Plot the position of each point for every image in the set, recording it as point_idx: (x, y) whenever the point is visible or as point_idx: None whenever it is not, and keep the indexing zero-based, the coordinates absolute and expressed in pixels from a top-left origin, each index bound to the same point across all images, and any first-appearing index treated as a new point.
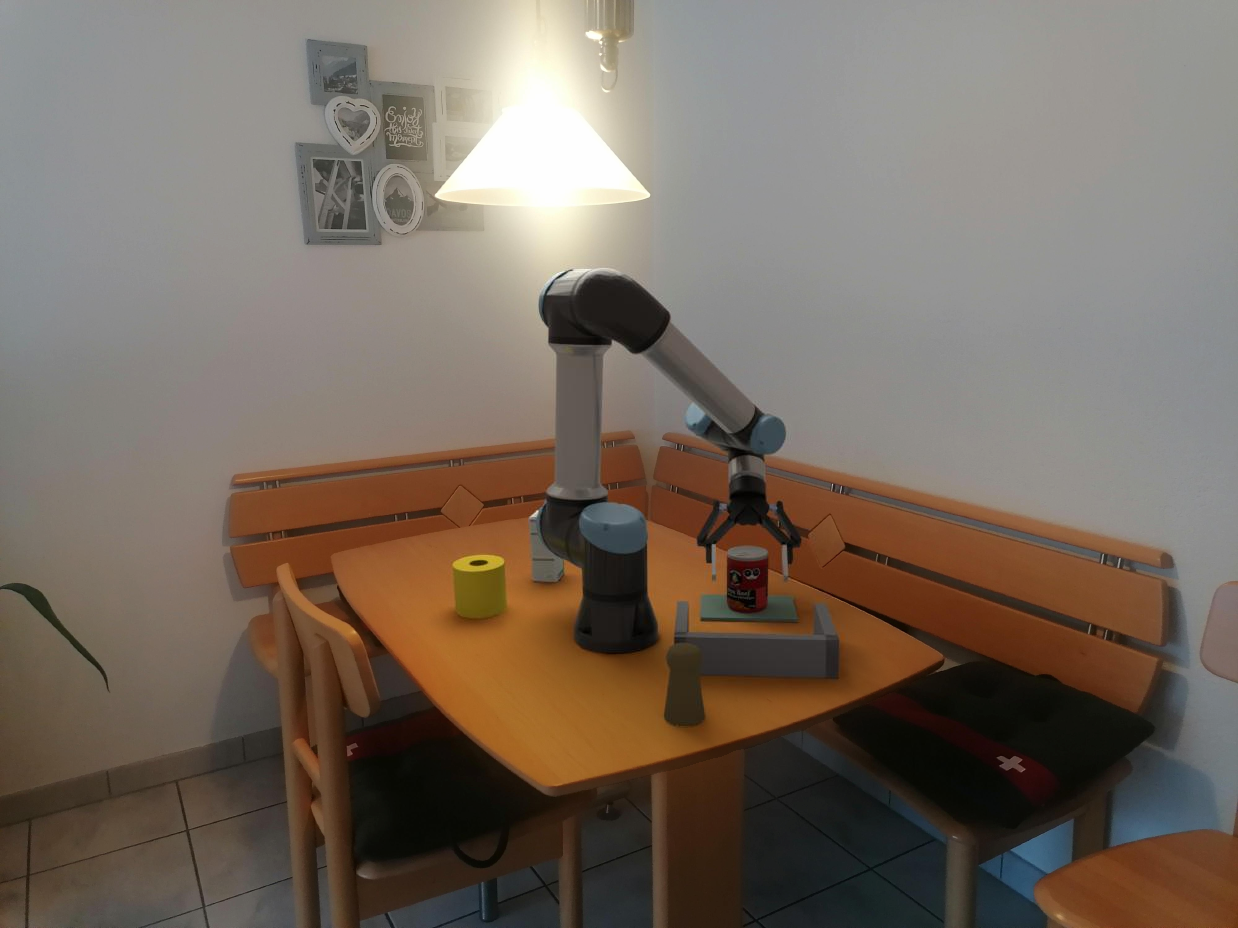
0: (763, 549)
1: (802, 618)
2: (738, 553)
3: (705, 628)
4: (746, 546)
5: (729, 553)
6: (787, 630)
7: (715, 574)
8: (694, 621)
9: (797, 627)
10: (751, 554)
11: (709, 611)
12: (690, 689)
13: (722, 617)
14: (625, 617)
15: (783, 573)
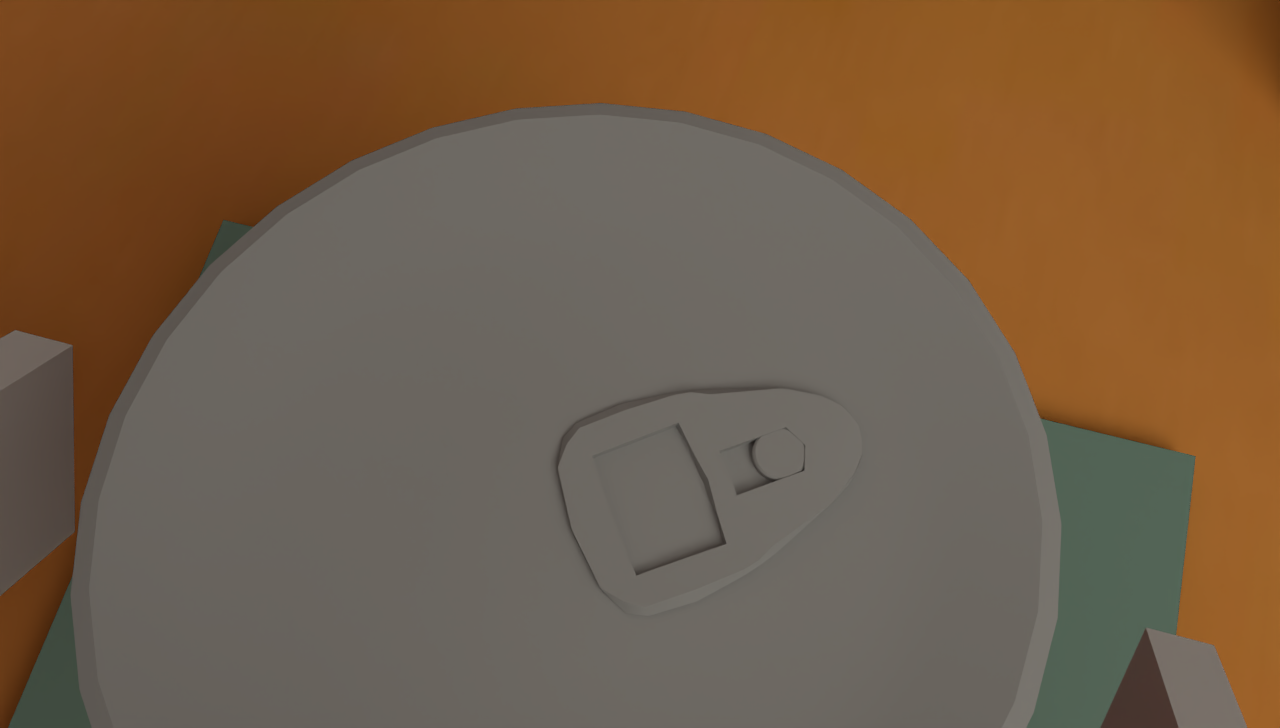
0: (129, 617)
1: (145, 311)
2: (790, 532)
3: (1148, 271)
4: None
5: (1030, 466)
6: (409, 94)
7: (1151, 629)
8: (1243, 453)
9: (293, 134)
10: (513, 431)
11: (1072, 598)
12: None
13: None
14: None
15: (18, 485)
